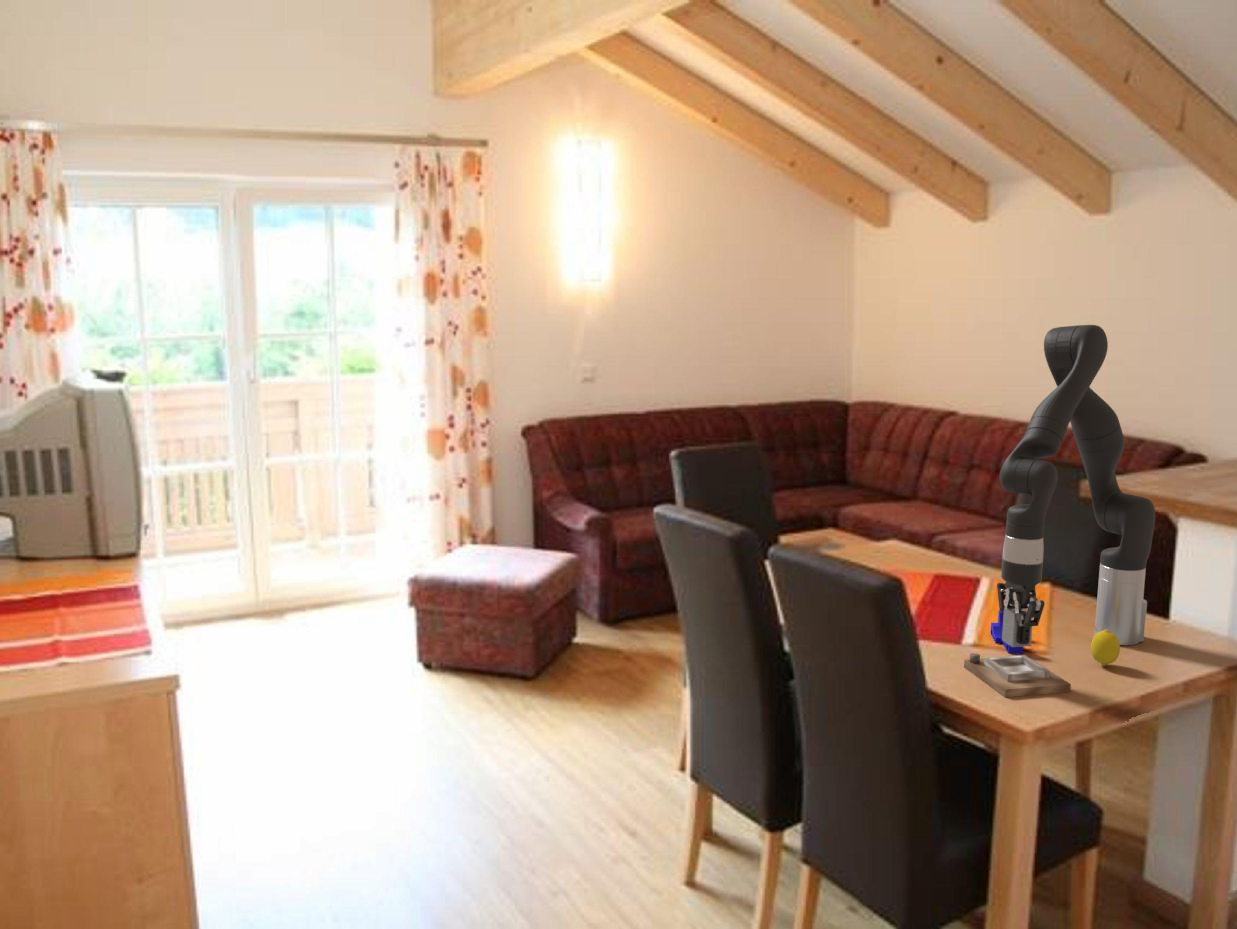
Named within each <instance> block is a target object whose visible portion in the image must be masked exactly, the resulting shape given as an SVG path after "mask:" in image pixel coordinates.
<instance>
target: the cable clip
mask: <svg viewBox="0 0 1237 929" xmlns="http://www.w3.org/2000/svg"><path fill="white" fill-rule="evenodd" d="M997 615H998V617H997V622H990V633H991V635H992V636H991V635H990V636H991V638H992V637H993V638H992V640H993V639H994V640H993V641H995V642H994V643H995V644H996V643H1003V644H1002V646H1003V647H1004V648H1005V650H1006V652H1007V654H1011V655H1013V654H1016V655H1023V654H1024V646H1022V647H1011V646H1010V645H1008V644H1007V643H1005V642H1004V641H1002V630H1003V615H1004V613H1003V612H1000V610H998V614H997ZM990 633H989V634H990Z"/></svg>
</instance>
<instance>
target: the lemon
mask: <svg viewBox="0 0 1237 929" xmlns="http://www.w3.org/2000/svg"><path fill="white" fill-rule="evenodd" d="M1090 643H1091V644H1090V653H1091V656H1092V658H1093V659H1094V660H1095V661H1096V662H1098V663H1099V664H1100V665H1101V666H1102V667H1106V666H1107V665H1110V664H1113V663H1114V662H1115V661H1117V659H1118V658H1119V655H1120V652H1121V645H1120V644H1119V640H1118V638H1117V636H1116V635H1115V634H1113V633H1112V632H1110V631H1109V630H1107V629H1105V630H1104V631H1100V632H1098V633H1097V634H1095V635H1094V634H1093V637H1092V640H1091V642H1090Z"/></svg>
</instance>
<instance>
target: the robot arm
mask: <svg viewBox="0 0 1237 929" xmlns="http://www.w3.org/2000/svg"><path fill="white" fill-rule="evenodd" d="M1043 340H1044V341H1043V352H1044V357H1045V360H1046V363H1047V366H1048V369H1049V371H1050V373H1051V375H1052V378H1053V380H1054V382H1055V384H1056V388H1055V389H1054V390H1052V391H1051V392H1050V393H1049V394H1048V395H1047V396H1046V397H1045V398H1044V399H1043V400H1042V401H1041V402H1040V403H1039V404H1037V407H1036V408H1035V410H1034V412H1033V413H1032V416H1030V417H1031V418H1030V421H1029V422H1028V425H1027V428H1026V429H1025V430H1026V431H1025V433H1024V435H1023V437H1022V438H1021V440H1020V441H1019V443H1018V444H1017V445H1016V446H1015V447H1014V449H1013V450H1012V451H1011V453H1010V454H1009V455H1008V456H1007V457H1006V459H1005V461H1004V462H1003V463H1002V466H1001V468H1000V471H999V483H1000V485H1001V487H1002V489H1004V490H1005V491H1007V492H1009V493H1014V494H1021V495H1027V496H1032V499H1031V502H1030V503H1028V504H1015V505H1012V506H1010V507H1009V508H1008V509H1007V512H1006V523H1005V537H1004V542H1003V546H1002V548H1003V549H1002V558H1001V560H1002V561H1001V562H1002V563H1001V575H1000V577H1001V579H1002V580H1003V582H998V583H997V584H996V588H997V590H996V591H997V598H998V599H997V601H998V607H999V610H1000V612H1003V613H1004V607H1006V608H1013V607H1015V613H1017V614H1018V615H1019V619H1018V622H1019V626H1018V639H1017V642H1018V643H1019V644H1028V643H1029V640H1030V628H1031V626H1032V627H1038V626H1039V623H1040V621H1041V617H1042V614H1043V611H1044V608H1045V604H1046V603H1045V601H1044V600H1043V599H1042V600H1039V599H1038V598H1037V592H1036V586H1037V585H1038V584H1041V582H1042V579H1043V578H1042V577H1043V567H1044V566H1043V564H1044V552H1045V546H1044V533H1045V519H1046V516H1047V515H1046V514H1047V512H1048V510H1049V506H1050V503H1051V501H1052V500H1051V499H1052V498H1053V494H1054V492H1055V490H1056V488H1057V485H1058V481H1059V473H1058V469H1057V468H1056V466H1055V465H1054V464H1053V463H1052V462H1050V461H1047V460H1040V459H1044V458H1050V457H1054V456H1055V455H1057V454H1058V452H1059V450H1060V448H1061V446H1062V443H1063V441H1064V438H1065V436H1066V433H1067V430H1068V427H1069V425H1071V429H1072V433H1073V437H1074V440H1075V444H1076V445H1077V449H1078V452H1079V454H1080V458H1081V460H1082V464H1083V468H1084V471H1085V475H1086V478H1087V481H1088V482H1087V483H1088V486H1089V493H1090V497H1091V503H1092V509H1093V513H1094V517H1095V521H1096V522H1097V525H1098V526H1099V527H1100V528H1101V529H1102V530H1104V531H1106V532H1108V533H1111V534H1116V535H1120V536H1121V540H1120V545H1119V546H1116V547H1107V548H1105V549H1103V550H1102V551H1101V552H1100V558H1099V559H1100V560H1099V574H1098V586H1097V597H1096V598H1097V599H1096V608H1095V609H1096V610H1095V622H1094V623H1095V624H1094V632H1093V636H1094V635H1095V634H1097V633H1098V632H1100V631H1104V630H1105V629H1107V630H1109V631H1110V632H1112V633H1113V634H1115V635H1116V636H1117V638H1118V640H1119V644H1120V646H1135V645H1137V644H1139V643H1140V642H1141V643H1142V642H1145V641H1144V640H1145V628H1146V618H1147V607H1148V600H1146V599H1144V596H1145V595H1144V594H1145V585H1146V584H1145V582H1146V581H1145V580H1146V569H1147V562H1148V560H1149V557H1150V554H1151V551H1152V545H1153V536H1154V531H1155V525H1156V524H1155V523H1156V509H1155V505H1154V503H1153V501H1152V500H1150V499H1149V498H1147V497H1144V496H1140V495H1139V496H1138V495H1134V494H1130V493H1124V492H1123V491H1122V490H1121V489H1120V486H1119V483H1118V479H1117V476H1116V469H1117V466H1118V465H1119V462H1120V459H1121V458H1122V455H1123V453H1124V450H1125V444H1126V443H1125V437H1124V433H1123V428H1122V427H1121V423H1120V420H1119V418H1118V417H1119V416H1118V415H1117V413H1116V412H1115V410H1114V409H1113V408H1112V407H1111V406H1110V404H1108V403H1107V402H1106V401H1105V400H1104V399H1103V398H1102V397H1101V396H1100V395H1098V393H1096V392H1095V391H1094V390H1093V389H1092V388H1091V387H1090V386H1091V385H1092V383H1093V381H1094V379H1095V377H1096V376H1097V375H1098V373H1099V371H1100V370H1101V368H1102V366H1103V364H1104V361H1105V360H1106V356H1107V354H1108V348H1109V347H1108V346H1109V345H1108V336H1107V334H1106V332H1105V331H1104V329H1103V328H1102V327H1101V326H1099V325H1097V324H1082V325H1081V324H1079V325H1068V326H1058V327H1053V328H1051V329H1049V330H1048V331H1047V332H1046V334H1045V336H1044V339H1043ZM1004 581H1005V582H1004ZM1021 609H1028V610H1024V611H1022V610H1021ZM999 610H998V611H999ZM1024 615H1026V617H1025V620H1024V617H1023V616H1024Z"/></svg>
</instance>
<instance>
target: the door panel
mask: <svg viewBox="0 0 1237 929" xmlns="http://www.w3.org/2000/svg"><path fill="white" fill-rule="evenodd" d="M963 668H965V669H966V670H967V671H969V673H971V674H973V675H974V676H976V677H977V678H978V679H979V680H981V681H982V682H984V683H985V684H986V685H988V686H989V687H990V688H991V689H993V690H994V691H995V692H997V693H998V694H1000V695H1001V696H1002V697H1003V698H1011V697H1013V698H1014V697H1015V698H1016V697H1023V696H1025V697H1027V696H1035V695H1036V696H1037V695H1048V694H1062V693H1070V692H1071V688H1072V684H1071V683H1070V682H1068V681H1067V680H1065V679H1064V678H1062V677H1061V676H1059V675H1057V674H1056V673H1054V672H1052V671H1051V670H1050V669H1048V668H1046V667H1045V666H1044V665H1042V664H1040V663H1038V662H1037V661H1036V660H1034V659H1032V658H1030V657H1029V656H1027V655H1026V654H1024V655H1023V654H1019V655H1010V656H1009V655H1008V656H1007V655H1006V656H996V657H995V656H994V657H985V658H984V657H983V658H981V655H980V654H979V653H973V652H972V653H969V659H964V661H963Z"/></svg>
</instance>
